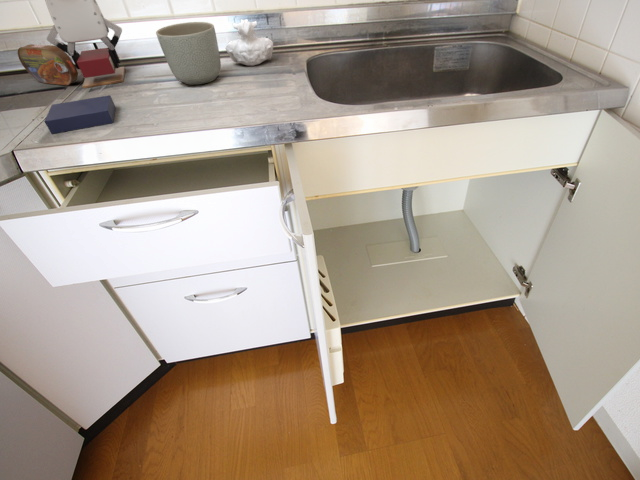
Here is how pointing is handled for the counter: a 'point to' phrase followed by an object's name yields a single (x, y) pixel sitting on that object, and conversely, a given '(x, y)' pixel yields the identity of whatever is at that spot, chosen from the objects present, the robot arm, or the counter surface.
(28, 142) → the counter surface
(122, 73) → the pad
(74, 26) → the robot arm
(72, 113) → the bottom book
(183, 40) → the planter
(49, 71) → the tin
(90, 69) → the top book
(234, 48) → the bust
